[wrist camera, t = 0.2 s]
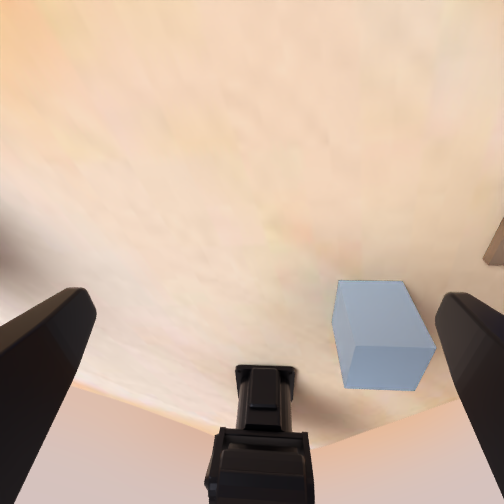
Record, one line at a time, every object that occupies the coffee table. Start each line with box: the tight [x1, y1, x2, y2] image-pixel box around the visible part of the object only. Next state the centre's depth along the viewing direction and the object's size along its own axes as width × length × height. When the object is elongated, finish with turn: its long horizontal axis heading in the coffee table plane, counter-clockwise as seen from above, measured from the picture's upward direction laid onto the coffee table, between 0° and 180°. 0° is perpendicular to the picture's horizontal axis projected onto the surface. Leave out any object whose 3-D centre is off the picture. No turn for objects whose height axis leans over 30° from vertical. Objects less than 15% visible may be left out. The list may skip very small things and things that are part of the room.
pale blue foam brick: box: [332, 280, 436, 391], centre depth 24 cm, size 5×5×7 cm
